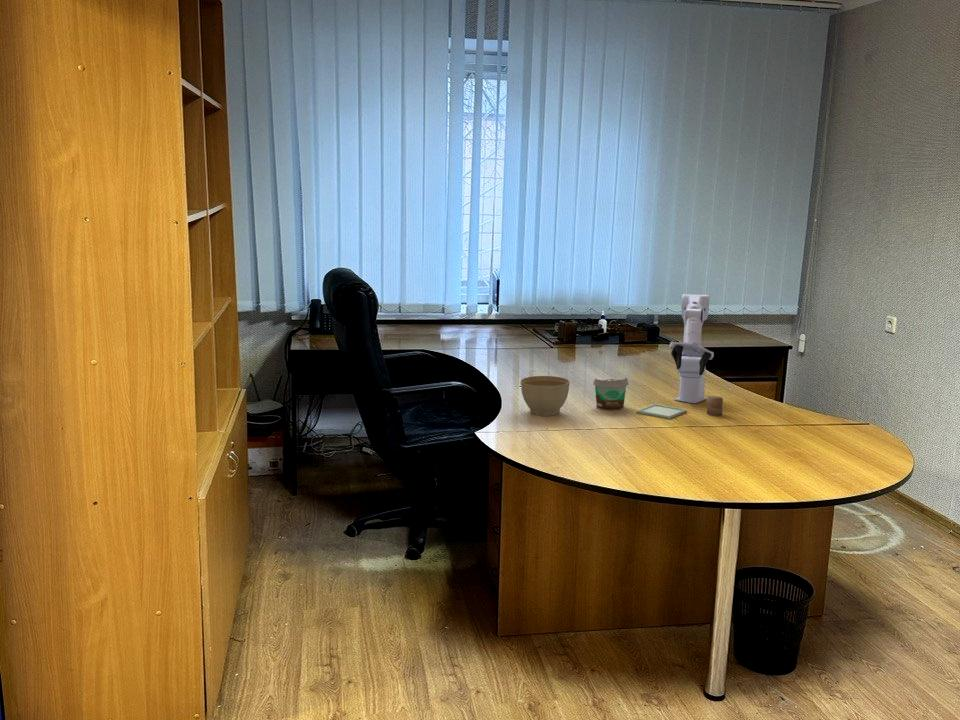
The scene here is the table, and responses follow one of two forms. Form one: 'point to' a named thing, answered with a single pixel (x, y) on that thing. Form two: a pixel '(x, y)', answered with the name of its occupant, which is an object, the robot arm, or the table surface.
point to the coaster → (661, 411)
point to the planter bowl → (545, 394)
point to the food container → (610, 393)
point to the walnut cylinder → (714, 405)
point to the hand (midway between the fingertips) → (690, 370)
